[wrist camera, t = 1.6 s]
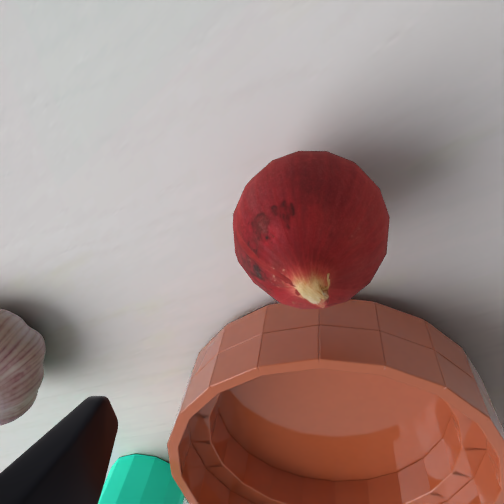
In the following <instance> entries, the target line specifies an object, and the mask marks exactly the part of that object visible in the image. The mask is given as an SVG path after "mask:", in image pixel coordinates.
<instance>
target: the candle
mask: <svg viewBox="0 0 504 504" xmlns="http://www.w3.org/2000/svg"><path fill="white" fill-rule="evenodd" d="M183 500H184V495H183V493H182V491H181V490H180V488H179V487H178V485H177V484H176V482H175V480H174V479H173V477H172V475H171V469H170V464H169V463H167V462H165V461H163V460H161V459H159V458H157V457H153V456H147V455H140V454H133V455H128V456H124V457H120V458H118V460H117V461H116V462H115V463H114V465H113V466H112V467H111V470H110V472H109V474H108V476H107V479H106V481H105V483H104V486H103V489H102V492H101V496H100V499H99V502H98V504H183Z"/></svg>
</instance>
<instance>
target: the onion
mask: <svg viewBox="0 0 504 504" xmlns="http://www.w3.org/2000/svg"><path fill="white" fill-rule="evenodd" d="M389 218H390V217H389V214H388V211H387V208H386V205H385V202H384V200H383V197H382V194H381V191H380V189H379V187H378V186H377V185H376V184H375V183H374V182H373V181H372V180H371V179H370V178H369V177H368V176H367V175H366V174H365V173H364V172H363V171H362V169H361V168H360V167H359V166H358V165H357V164H356V163H354V162H352V161H350V160H347V159H345V158H342V157H340V156H337V155H335V154H332V153H330V152H327V151H297V152H295V153H292V154H289V155H286V156H284V157H281V158H278V159H275V160H272V161H271V162H270V163H269V164H268V165H267V166H266V167H265V168H263V169H262V170H261V171H260V172H259V173H258V174H257V175H255V176H254V177H253V178H252V179H251V180H250V181H249V183H248V184H247V185H246V186H245V188H244V191H243V193H242V195H241V197H240V200H239V202H238V204H237V207H236V209H235V211H234V214H233V231H234V243H235V253H236V256H237V259H238V262H239V263H240V264H241V266H242V267H243V269H244V270H245V271H246V273H247V274H248V275H249V277H250V278H251V279H252V281H253V282H254V283H255V284H256V285H258V286H259V287H260V288H262V289H263V290H264V291H265V292H267V293H268V294H269V295H270V296H272V297H273V298H274V299H276V300H277V301H278V302H280V303H281V304H284V305H288V306H292V307H295V308H299V309H324V308H327V307H330V306H333V305H336V304H340V303H343V302H347V301H348V300H350V299H351V298H352V297H353V296H354V295H356V294H357V293H358V292H359V291H360V290H362V289H363V288H364V287H365V286H366V285H368V284H369V283H370V282H371V280H372V278H373V277H374V275H375V273H376V271H377V270H378V268H379V266H380V264H381V262H382V261H383V259H384V257H385V255H386V252H387V240H388V229H389Z"/></svg>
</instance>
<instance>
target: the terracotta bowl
mask: <svg viewBox="0 0 504 504" xmlns="http://www.w3.org/2000/svg"><path fill="white" fill-rule="evenodd" d="M167 448H168V455H169V462H170V469H171V475H172V477H173V479H174V480H175V482H176V484H177V485H178V487H179V488H180V490H181V491H182V493H183V495H184V496H185V498H186V499H187V501H188V503H190V504H504V431H503V429H502V426H501V424H500V421H499V419H498V416H497V414H496V412H495V409H494V407H493V405H492V402H491V400H490V397H489V395H488V392H487V390H486V388H485V385H484V383H483V381H482V379H481V377H480V376H479V374H478V372H477V371H476V369H475V367H474V366H473V364H472V362H471V361H470V359H469V358H468V356H467V354H466V353H465V351H464V350H463V349H462V347H460V346H459V345H458V344H456V343H455V342H454V341H452V340H451V339H450V338H448V337H447V336H446V335H444V334H443V333H442V332H440V331H439V330H438V329H436V328H435V327H434V326H432V325H431V324H430V323H428V322H427V321H426V320H424V319H421V318H419V317H416V316H413V315H410V314H408V313H405V312H402V311H399V310H396V309H394V308H391V307H388V306H385V305H383V304H380V303H377V302H374V301H365V300H353V299H350V300H348V301H347V302H343V303H340V304H336V305H333V306H330V307H327V308H324V309H299V308H295V307H292V306H288V305H284V304H281V303H276V304H270V305H267V306H264V307H262V308H260V309H258V310H256V311H254V312H252V313H250V314H248V315H246V316H243V317H241V318H239V319H237V320H235V321H233V322H231V323H229V324H227V325H226V326H225V327H224V328H223V329H222V330H221V331H220V332H219V333H218V334H217V335H216V336H215V337H214V338H213V339H212V340H211V341H210V342H209V343H208V344H207V345H206V346H205V347H204V348H203V349H202V350H201V351H200V352H199V354H198V357H197V360H196V362H195V365H194V367H193V370H192V373H191V375H190V378H189V381H188V384H187V386H186V389H185V392H184V395H183V398H182V401H181V404H180V407H179V410H178V413H177V416H176V419H175V422H174V425H173V428H172V431H171V434H170V437H169V440H168V443H167Z"/></svg>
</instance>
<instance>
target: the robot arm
mask: <svg viewBox="0 0 504 504" xmlns="http://www.w3.org/2000/svg"><path fill="white" fill-rule="evenodd" d="M117 429H118V420H117V417H116V415H115V413H114V410H113V408H112V406H111V404H110V401H109V399H108V398H107V397H105V396H91V397H88V398H87V399H85V400H84V401H83V402H82V403H81V404H80V405H78V406H77V407H76V408H75V409H74V410H73V411H72V412H70V413H69V414H68V415H67V416H66V417H65V418H64V419H62V420H61V421H60V422H59V423H58V424H57V425H55V426H54V427H53V428H52V429H51V430H50V431H49V432H47V433H46V434H45V435H44V436H43V437H42V438H40V439H39V440H38V441H37V442H36V443H35V444H34V445H32V446H31V447H30V448H29V449H28V450H27V451H26V452H24V453H23V454H22V455H21V456H20V457H19V458H17V459H16V460H15V461H14V462H13V463H12V464H11V465H9V466H8V467H7V468H6V469H5V470H4V471H2V472H1V473H0V504H98V502H99V499H100V496H101V492H102V489H103V485H104V481H105V477H106V473H107V469H108V465H109V461H110V457H111V453H112V449H113V445H114V441H115V437H116V433H117Z"/></svg>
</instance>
